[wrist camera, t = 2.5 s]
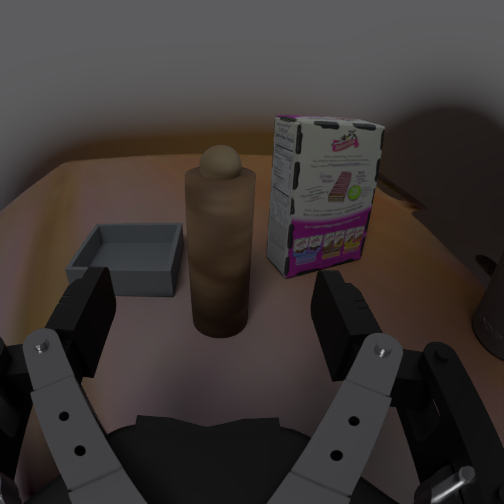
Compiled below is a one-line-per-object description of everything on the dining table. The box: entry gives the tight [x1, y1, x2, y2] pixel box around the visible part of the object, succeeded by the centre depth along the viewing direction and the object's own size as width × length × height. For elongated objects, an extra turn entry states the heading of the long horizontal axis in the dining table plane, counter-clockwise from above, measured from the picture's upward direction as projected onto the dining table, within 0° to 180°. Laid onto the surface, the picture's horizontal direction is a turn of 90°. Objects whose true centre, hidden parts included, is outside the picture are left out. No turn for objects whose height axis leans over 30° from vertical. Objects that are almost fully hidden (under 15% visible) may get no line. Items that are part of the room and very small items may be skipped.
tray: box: [65, 223, 184, 297], centre depth 33 cm, size 11×10×3 cm
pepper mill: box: [185, 145, 256, 338], centre depth 24 cm, size 5×5×15 cm
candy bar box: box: [267, 115, 385, 278], centre depth 33 cm, size 11×5×16 cm, turn 115°
